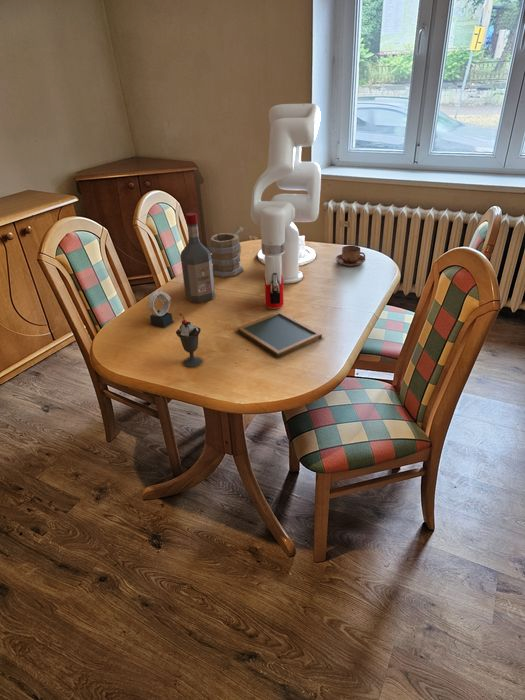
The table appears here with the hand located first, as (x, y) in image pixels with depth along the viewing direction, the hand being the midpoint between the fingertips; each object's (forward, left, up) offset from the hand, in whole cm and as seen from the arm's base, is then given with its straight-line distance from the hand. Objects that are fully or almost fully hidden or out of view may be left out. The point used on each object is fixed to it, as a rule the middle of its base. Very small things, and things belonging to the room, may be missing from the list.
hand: (274, 297), depth 156 cm
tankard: (-38, +16, -4) cm, 41 cm away
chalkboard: (+14, -14, -3) cm, 20 cm away
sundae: (+5, -41, -4) cm, 41 cm away
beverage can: (0, 0, -4) cm, 4 cm away
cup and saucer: (-2, +50, -4) cm, 50 cm away
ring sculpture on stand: (-21, -32, -4) cm, 38 cm away
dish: (-28, +40, -4) cm, 49 cm away
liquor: (-26, -11, -4) cm, 28 cm away
